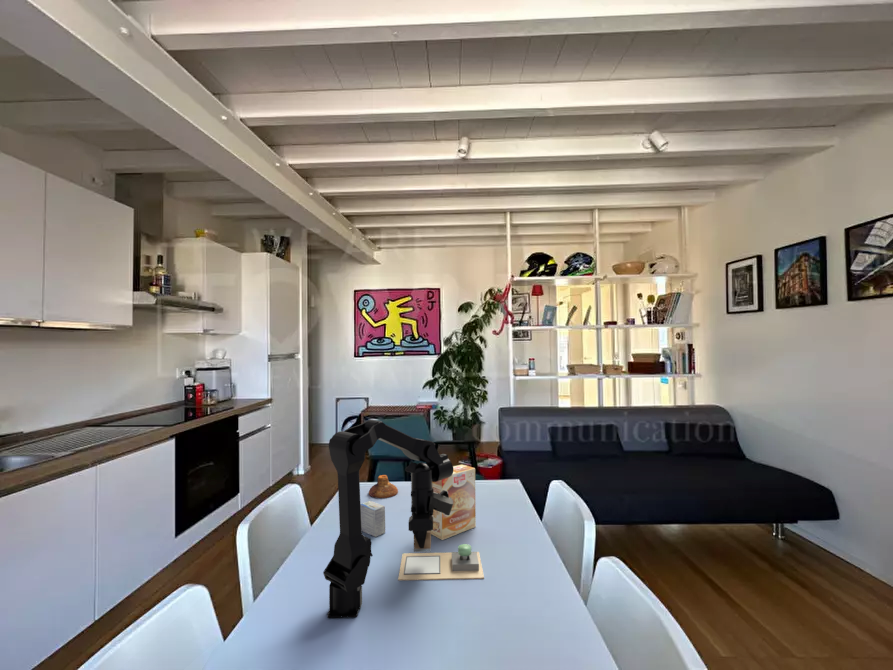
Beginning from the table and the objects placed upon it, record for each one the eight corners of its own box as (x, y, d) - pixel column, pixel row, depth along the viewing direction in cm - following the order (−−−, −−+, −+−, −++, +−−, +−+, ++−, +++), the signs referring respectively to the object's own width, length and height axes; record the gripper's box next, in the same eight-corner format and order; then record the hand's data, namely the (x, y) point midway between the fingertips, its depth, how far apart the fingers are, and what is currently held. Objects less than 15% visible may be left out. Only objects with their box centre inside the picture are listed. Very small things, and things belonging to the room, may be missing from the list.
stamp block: (413, 551, 115) (413, 532, 116) (414, 544, 120) (414, 525, 120) (430, 551, 116) (430, 532, 116) (430, 544, 120) (430, 525, 120)
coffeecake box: (442, 540, 133) (441, 476, 134) (428, 533, 139) (427, 472, 139) (476, 527, 143) (476, 467, 144) (462, 520, 148) (461, 463, 149)
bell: (373, 489, 184) (372, 471, 184) (400, 489, 183) (400, 472, 183) (365, 498, 173) (365, 480, 173) (394, 499, 171) (394, 480, 172)
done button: (458, 563, 116) (458, 550, 116) (457, 557, 120) (457, 544, 120) (471, 563, 116) (471, 550, 116) (470, 556, 120) (470, 543, 120)
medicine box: (385, 533, 139) (385, 505, 140) (374, 537, 136) (374, 509, 136) (370, 526, 145) (370, 500, 145) (359, 530, 141) (359, 503, 142)
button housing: (452, 572, 114) (452, 564, 114) (451, 559, 121) (451, 552, 121) (478, 571, 114) (478, 564, 115) (476, 558, 121) (476, 551, 122)
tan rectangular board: (398, 580, 111) (398, 578, 111) (402, 554, 125) (402, 552, 125) (484, 578, 111) (484, 576, 111) (478, 552, 125) (478, 551, 125)
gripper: (452, 497, 109) (453, 560, 109) (450, 475, 128) (450, 529, 127) (408, 497, 109) (408, 560, 108) (412, 476, 128) (412, 529, 127)
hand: (422, 544), depth 118 cm, fingers closed on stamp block, 4 cm apart
